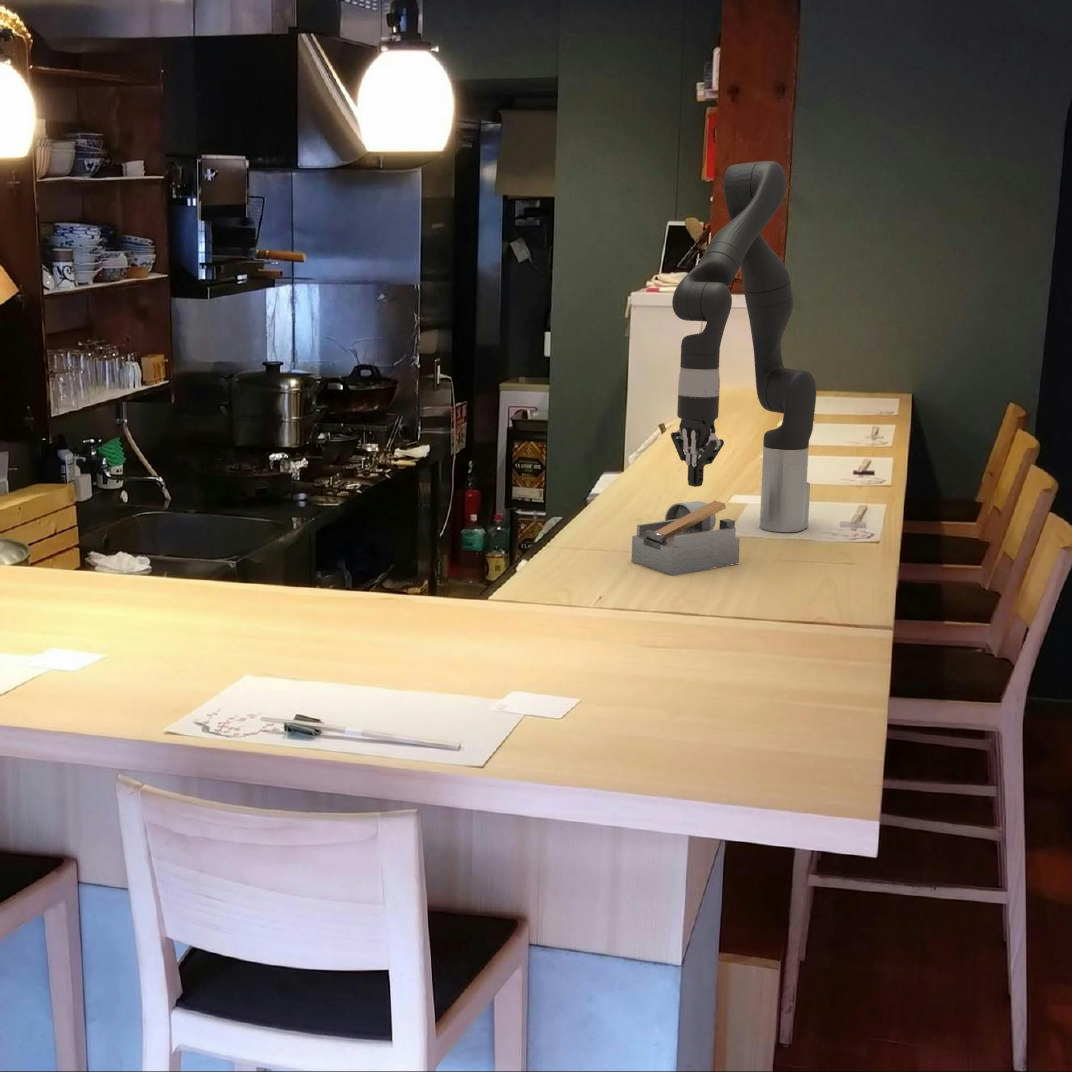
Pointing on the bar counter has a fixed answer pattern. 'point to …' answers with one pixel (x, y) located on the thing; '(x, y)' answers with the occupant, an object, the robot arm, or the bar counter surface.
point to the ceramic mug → (687, 511)
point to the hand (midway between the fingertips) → (695, 485)
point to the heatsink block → (687, 547)
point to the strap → (685, 522)
